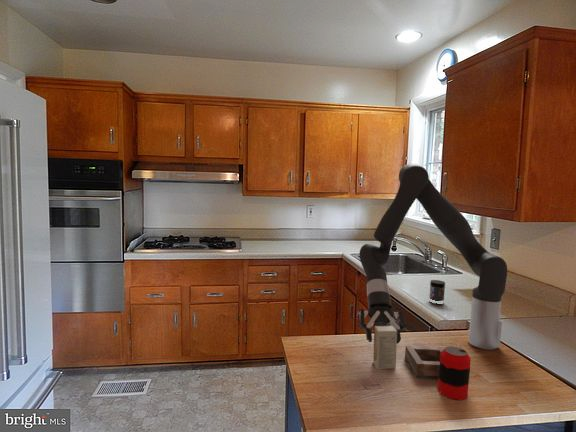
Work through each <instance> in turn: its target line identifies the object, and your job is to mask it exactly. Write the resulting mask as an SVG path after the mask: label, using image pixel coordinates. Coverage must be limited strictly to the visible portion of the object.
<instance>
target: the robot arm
mask: <svg viewBox="0 0 576 432" xmlns="http://www.w3.org/2000/svg"><path fill="white" fill-rule="evenodd" d="M429 176H430V175H429V172H428V171H427V169H426V168H425V167H424V166H422V165H420V164H418V163H417V164H416V163H408V164H405V165H404V166H402V167H401V169H400V170H399V173H398V180H399V183H400V185H399V187H398V190H397V192H396V195H395V197H394V199H393V200H392V202H391V204H390V206H389V207H388V208H387V209H386V211H385V213H384V214H383V215H382V217H381V219H380V221H379V222H378V225H377V226H376V229H375V231H374V234H373V237H374V239H375V240H376V241H377V242H379V243H380V244H379V246H377V245H374V244H371V243H365V244H363V245H362V246H361V247H360V250H359V255H358V256H359V261H360V264H361V266H362V268H363V271H364V273H365V277H366V296H367V305H368V310H365V309H364V308H361V309H360V311H359V313H358V314H359V318H358V319H359V329H360V330H365V336H366V337H365V338H366V340H367V341H368V342H369V343H372V341H373V336H372V335H373V334H372V327H373V326H374V324H376V326H393V327H394V328H395V329H396V330H397V345H398V344H400V342H401V339H402V336H401V332H403V331H404V330H405V328H406V323H405V319H404V315H403V314H404V313H403V311H402V310H399V311H393V309H392V299H391V295H390V293H391V292H390V288H389V285H388V278H387V271H386V269H385V268H384V267H383V266H385V265H386V264H387V263H388V260H389V258H390V253H391V249H392V244H393V241H394V239H395V236H396V235H397V233H398V231H399V229H400V227H401V225H402V224H403V222H404V220H405V217H406V215H407V214H408V212H409V210H410V208H411V207H412V205H413V204H414V202H415V201H416V200H417V201H418V202H419V204H421V206H422V208H423V209H424V211H425V212H426V214H427V215H428V216H429V218H430V220H432V222H433V224H434V225H435V226H436V228H437V229H438V230H439V231H440V232H441V234H442V235H443V236H445V238H446V239H447V240H448V241H449V242H450V243H451V244H452V245H453V246H454V247H455V248H456V250H458V252H459V253H460V255H462V257H463V258H464V261H466V263H467V264H468V266H469V267H470V269H471V271H472V272H473V273H474V274H475V275H476V276H478V279H479V280H478V285H477V286H475V287H474V288H473V289H472V292H471V293H472V294H471V295H472V296H471V307H470V308H471V309H470V319H469V331H468V343H469V344H470V345H471V346H473V347H476V348H477V349H483V350H489V351H490V350H491V351H492V350H495V349H500V347H501V339H502V338H501V336H502V327H503V324H502V321H501V320H500V318H501V309H502V308H501V306H502V297H503V295H504V294H505V290H506V285H507V278H508V264H507V262H506V261H505V260H504V259H503V258H502V257H500V256H498V255H495V254H494V253H490V252H489V251H487V249H486V248H485V247H483V245H482V244H481V243H480V242H479V241H478V240H477V238H476V237H475V235H474V231H473V230H472V227H471V225H470V223H469V222H468V220H467V219H466V217H465V216H464V215H463V213H462V212H461V211H460V210H459V209H458V208H457V207H456V206H455V205H454V204H453V203H452V202H451V201H450V200H449V199H448V198H447V197H446V196H444V195H443V194H442V193H441V192H440V191H439V190H438V189H437V188H436V187H435V185H434V183H432V181H431V180H430V177H429ZM367 316H368V317H369V319H370V320H369V322H368V323H367V324H366V323H365V318H366V317H367ZM393 317H395V319H396V320H397V322H398V323H397V322H396V320H395V319H394V318H393Z"/></svg>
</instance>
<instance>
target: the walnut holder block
mask: <svg viewBox="0 0 576 432" xmlns="http://www.w3.org/2000/svg"><path fill="white" fill-rule="evenodd" d="M444 349H445V347H443V346H422V345H421V346H420V345H419V346H418V345H405V349H404V350H405V351H404V360H405V362H406V364H407V366H408V367H409V368H410V370H411V372H412V373H413V375H414V377H415V379H418V380H419V379H422V380H425V379H426V380H439V368H440V355H441V351H442V350H444Z"/></svg>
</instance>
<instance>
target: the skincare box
mask: <svg viewBox="0 0 576 432" xmlns="http://www.w3.org/2000/svg"><path fill="white" fill-rule="evenodd" d="M373 326H374V330H373V331H374V333H373V334H374V335H373V357H372V358H373V359H372V362H373V365H374V367H375V368H376V369H377V370H378V369H379V370H381V369H382V370H383V369H386V370H387V369H390V370H391V369H396V368H397V346H398V344H397V330H396V329H395V328H394V327H393V326H389V325H373Z"/></svg>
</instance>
